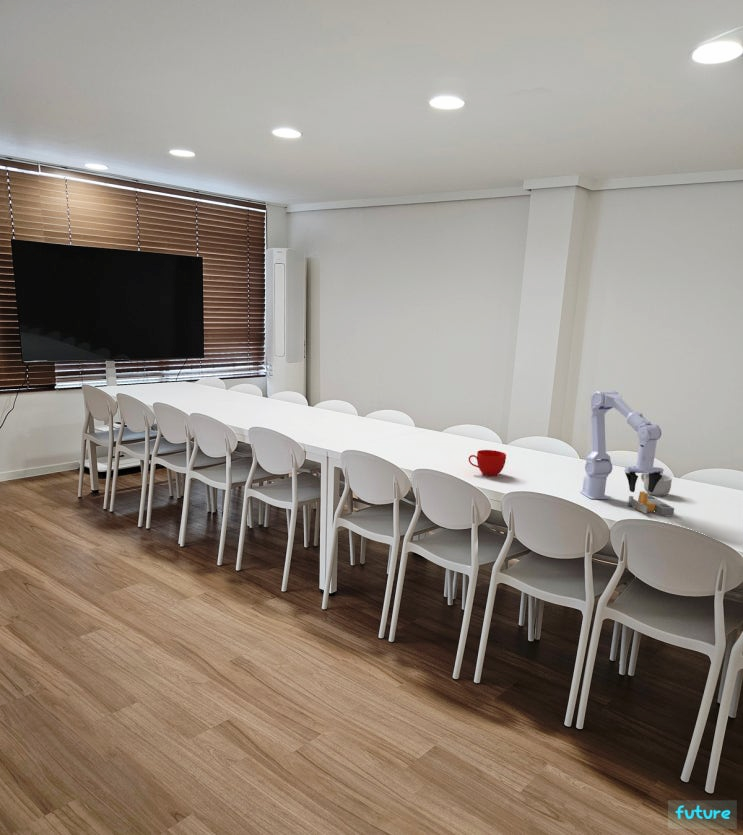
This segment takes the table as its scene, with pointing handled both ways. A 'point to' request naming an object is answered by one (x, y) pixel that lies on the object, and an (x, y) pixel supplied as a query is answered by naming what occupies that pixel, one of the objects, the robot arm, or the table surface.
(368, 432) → the table surface
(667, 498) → the table surface
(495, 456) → the ceramic cup
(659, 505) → the power strip
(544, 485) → the table surface
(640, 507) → the clip
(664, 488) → the teacup
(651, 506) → the plug
